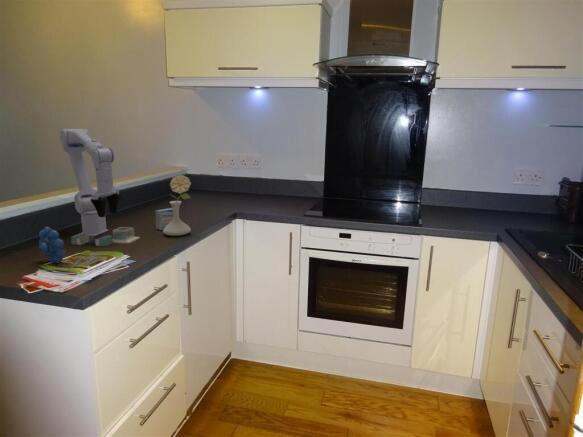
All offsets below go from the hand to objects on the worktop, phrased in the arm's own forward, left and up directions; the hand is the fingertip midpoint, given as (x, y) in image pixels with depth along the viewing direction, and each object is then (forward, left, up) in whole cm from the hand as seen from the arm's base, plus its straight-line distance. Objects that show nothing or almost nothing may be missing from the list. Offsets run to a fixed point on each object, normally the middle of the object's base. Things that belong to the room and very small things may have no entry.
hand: (107, 214), depth 166 cm
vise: (+6, -4, -10) cm, 12 cm away
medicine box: (-23, +12, -11) cm, 28 cm away
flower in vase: (-14, +22, -11) cm, 29 cm away
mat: (-1, +5, -10) cm, 12 cm away
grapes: (+30, -2, -11) cm, 32 cm away
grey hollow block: (-1, +5, -10) cm, 11 cm away
